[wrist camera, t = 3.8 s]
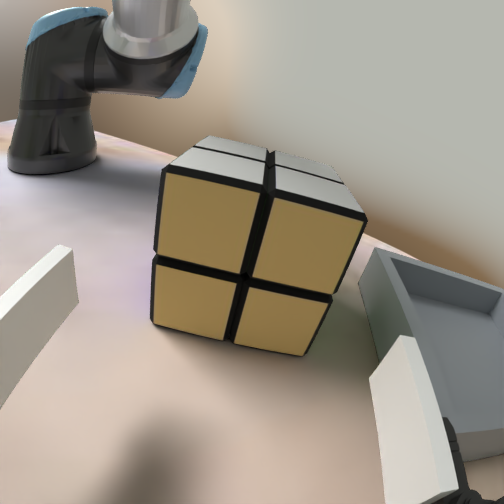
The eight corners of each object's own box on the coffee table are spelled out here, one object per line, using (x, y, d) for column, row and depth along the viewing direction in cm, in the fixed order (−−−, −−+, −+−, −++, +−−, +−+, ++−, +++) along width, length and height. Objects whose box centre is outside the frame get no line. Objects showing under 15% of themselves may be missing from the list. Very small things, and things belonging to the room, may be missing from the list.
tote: (358, 283, 28) (374, 247, 26) (485, 315, 28) (503, 288, 26) (399, 469, 12) (445, 433, 10) (548, 440, 12) (578, 410, 10)
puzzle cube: (185, 247, 27) (205, 133, 22) (297, 273, 27) (334, 166, 22) (147, 325, 18) (160, 164, 13) (305, 360, 19) (373, 217, 14)
